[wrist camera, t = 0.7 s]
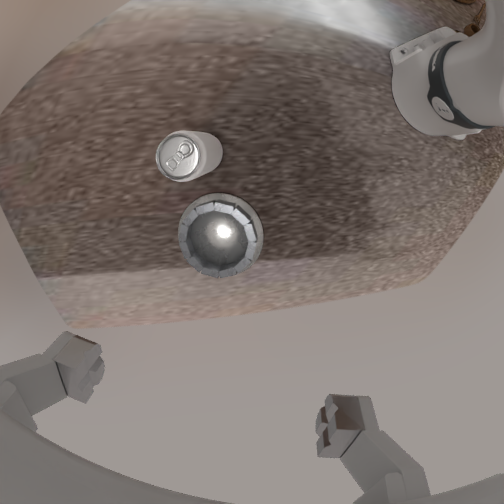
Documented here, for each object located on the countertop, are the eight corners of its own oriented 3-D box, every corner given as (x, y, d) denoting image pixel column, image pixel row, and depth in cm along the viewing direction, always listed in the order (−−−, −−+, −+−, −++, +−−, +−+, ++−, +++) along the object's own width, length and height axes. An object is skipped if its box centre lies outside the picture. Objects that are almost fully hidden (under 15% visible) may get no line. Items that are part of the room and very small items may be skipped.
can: (232, 152, 44) (215, 155, 32) (203, 181, 46) (178, 195, 34) (203, 124, 42) (177, 118, 31) (175, 153, 44) (142, 158, 33)
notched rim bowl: (217, 174, 45) (212, 176, 42) (281, 235, 47) (281, 242, 44) (164, 235, 49) (156, 241, 46) (224, 289, 52) (220, 298, 49)
